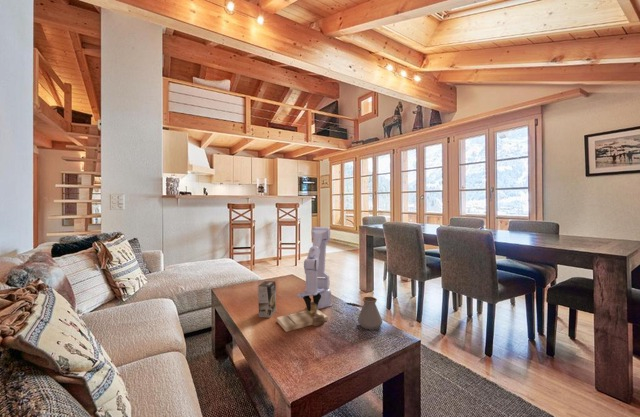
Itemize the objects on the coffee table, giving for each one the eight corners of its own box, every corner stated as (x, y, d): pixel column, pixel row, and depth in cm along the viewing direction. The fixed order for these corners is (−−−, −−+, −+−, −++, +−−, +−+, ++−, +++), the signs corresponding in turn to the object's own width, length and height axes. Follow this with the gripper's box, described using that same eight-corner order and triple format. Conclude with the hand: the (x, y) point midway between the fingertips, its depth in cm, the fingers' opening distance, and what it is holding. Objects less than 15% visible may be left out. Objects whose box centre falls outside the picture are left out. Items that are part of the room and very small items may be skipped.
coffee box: (270, 318, 136) (269, 286, 136) (258, 317, 137) (257, 285, 137) (276, 310, 145) (276, 281, 144) (265, 309, 146) (264, 280, 146)
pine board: (316, 311, 143) (316, 307, 143) (327, 320, 132) (327, 316, 132) (276, 321, 132) (276, 317, 132) (286, 331, 122) (286, 327, 122)
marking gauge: (311, 313, 140) (310, 298, 140) (323, 323, 129) (323, 307, 128) (302, 315, 138) (302, 300, 138) (314, 326, 126) (314, 309, 126)
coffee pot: (368, 318, 134) (368, 288, 134) (387, 326, 125) (387, 295, 125) (336, 332, 121) (336, 299, 120) (355, 342, 112) (355, 307, 111)
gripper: (301, 287, 126) (302, 316, 127) (328, 282, 133) (328, 309, 134) (295, 283, 132) (296, 310, 133) (321, 278, 139) (321, 304, 140)
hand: (312, 309), depth 134 cm, fingers closed on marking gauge, 3 cm apart
